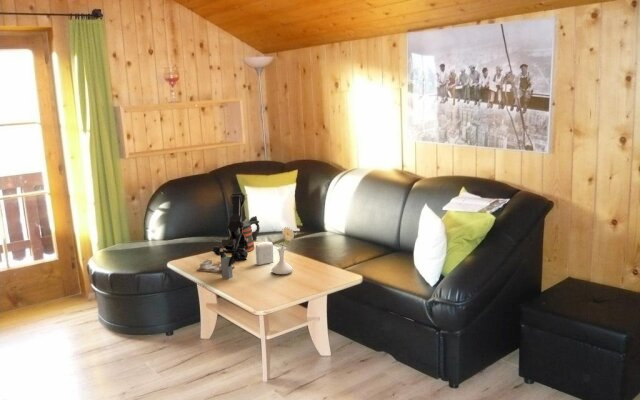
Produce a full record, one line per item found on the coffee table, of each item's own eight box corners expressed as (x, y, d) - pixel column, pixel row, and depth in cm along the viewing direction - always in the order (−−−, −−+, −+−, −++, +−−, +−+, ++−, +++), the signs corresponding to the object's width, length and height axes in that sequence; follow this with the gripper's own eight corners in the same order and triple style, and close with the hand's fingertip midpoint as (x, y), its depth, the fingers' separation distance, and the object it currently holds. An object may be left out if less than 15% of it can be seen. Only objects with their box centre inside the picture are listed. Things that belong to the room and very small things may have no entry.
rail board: (196, 271, 327) (196, 263, 326) (206, 265, 336) (205, 258, 335) (225, 273, 321) (225, 266, 320) (234, 268, 330) (234, 261, 329)
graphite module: (225, 276, 317) (224, 256, 315) (232, 276, 316) (231, 256, 313) (222, 278, 313) (220, 258, 311) (228, 279, 312) (227, 258, 310)
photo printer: (271, 260, 342) (270, 239, 339) (274, 262, 338) (273, 241, 336) (255, 264, 336) (254, 242, 334) (258, 265, 333) (257, 244, 330)
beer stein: (254, 243, 377) (253, 213, 373) (264, 249, 365) (263, 217, 361) (226, 248, 368) (224, 217, 363) (235, 254, 355) (234, 222, 351)
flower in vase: (276, 277, 312) (274, 231, 307) (268, 271, 322) (266, 227, 317) (299, 273, 318) (297, 228, 313) (290, 267, 328) (288, 223, 323)
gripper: (212, 231, 316) (203, 257, 309) (244, 233, 310) (235, 260, 302) (220, 242, 325) (212, 267, 317) (251, 244, 319) (243, 270, 311)
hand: (225, 266), depth 312 cm, fingers closed on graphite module, 4 cm apart
